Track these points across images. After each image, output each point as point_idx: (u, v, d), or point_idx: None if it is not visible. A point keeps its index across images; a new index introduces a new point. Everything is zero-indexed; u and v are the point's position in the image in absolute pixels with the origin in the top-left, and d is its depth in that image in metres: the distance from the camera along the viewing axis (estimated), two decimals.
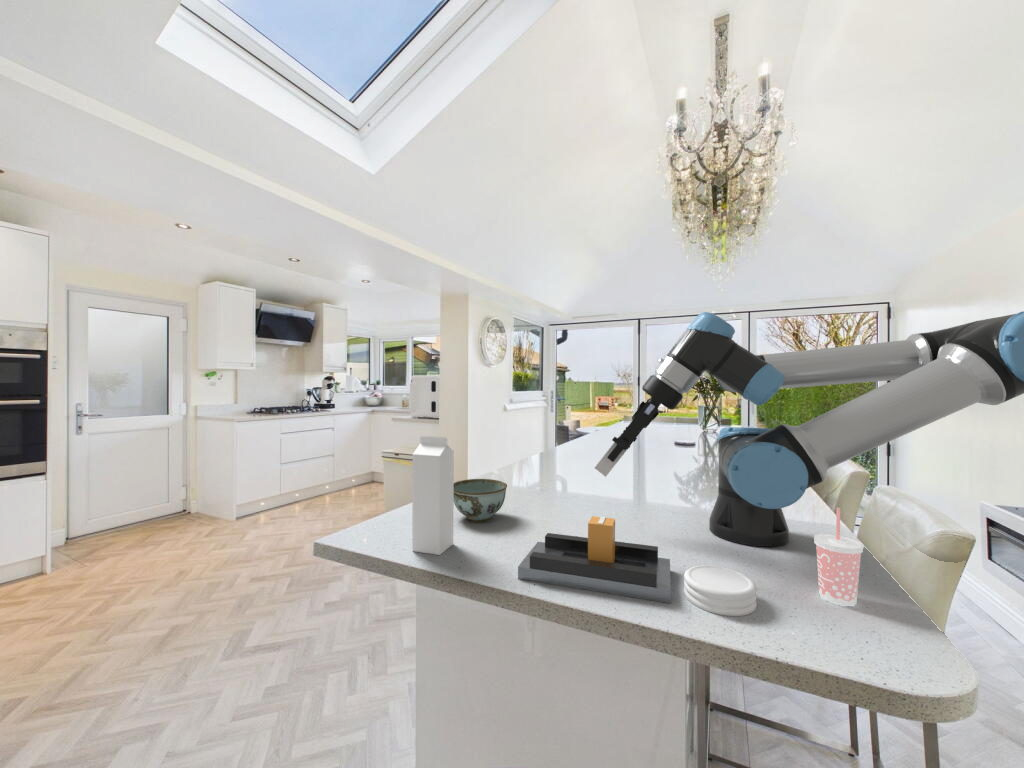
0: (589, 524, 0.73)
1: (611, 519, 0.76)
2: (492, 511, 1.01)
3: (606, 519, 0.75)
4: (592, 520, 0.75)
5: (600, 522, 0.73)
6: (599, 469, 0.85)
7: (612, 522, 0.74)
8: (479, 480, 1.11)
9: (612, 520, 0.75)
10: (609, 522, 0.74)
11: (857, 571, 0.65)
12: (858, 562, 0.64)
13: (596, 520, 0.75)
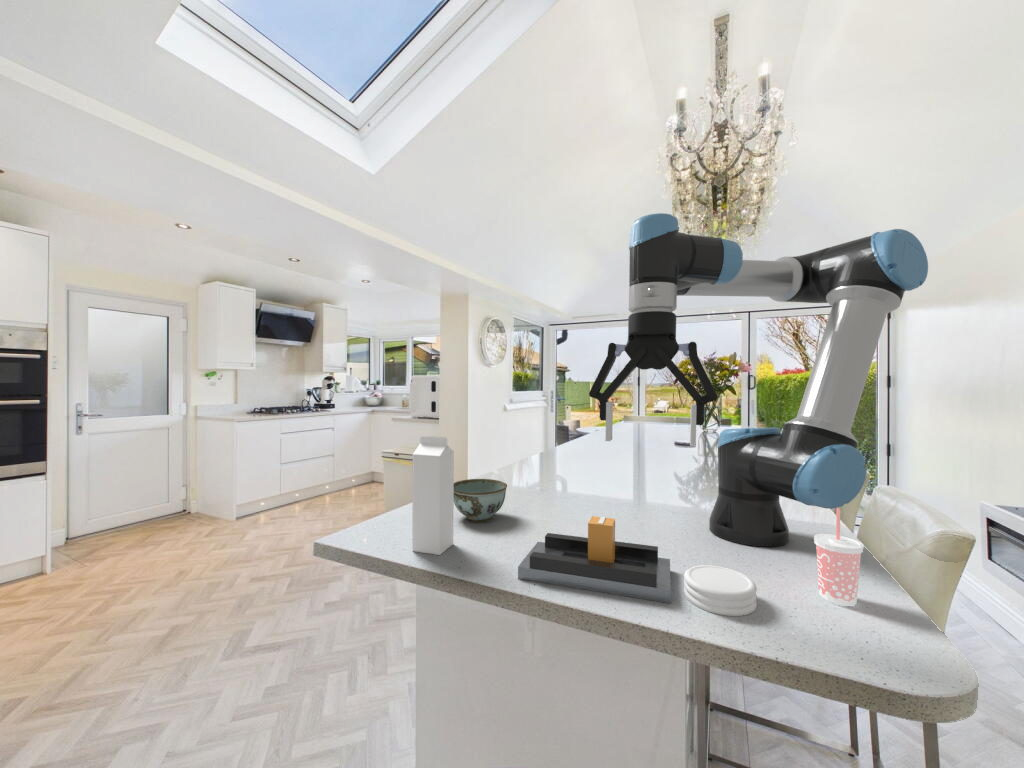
0: (589, 524, 0.73)
1: (611, 519, 0.76)
2: (492, 511, 1.01)
3: (606, 519, 0.75)
4: (592, 520, 0.75)
5: (600, 522, 0.73)
6: None
7: (612, 522, 0.74)
8: (479, 480, 1.11)
9: (612, 520, 0.75)
10: (609, 522, 0.74)
11: (857, 571, 0.65)
12: (858, 562, 0.64)
13: (596, 520, 0.75)
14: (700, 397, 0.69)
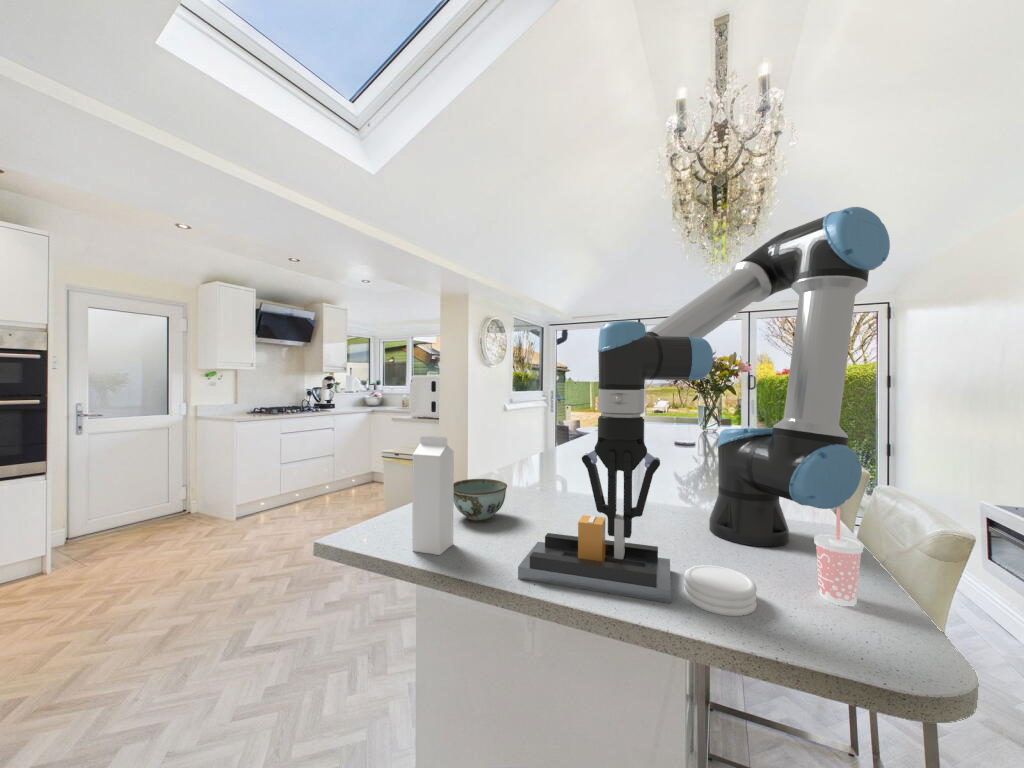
0: (579, 523, 0.74)
1: (601, 518, 0.76)
2: (492, 511, 1.01)
3: (596, 518, 0.76)
4: (582, 519, 0.75)
5: (590, 521, 0.74)
6: (623, 554, 0.73)
7: (602, 521, 0.74)
8: (479, 480, 1.11)
9: (602, 519, 0.75)
10: (599, 521, 0.74)
11: (857, 571, 0.65)
12: (858, 562, 0.64)
13: (586, 519, 0.75)
14: (629, 513, 0.72)
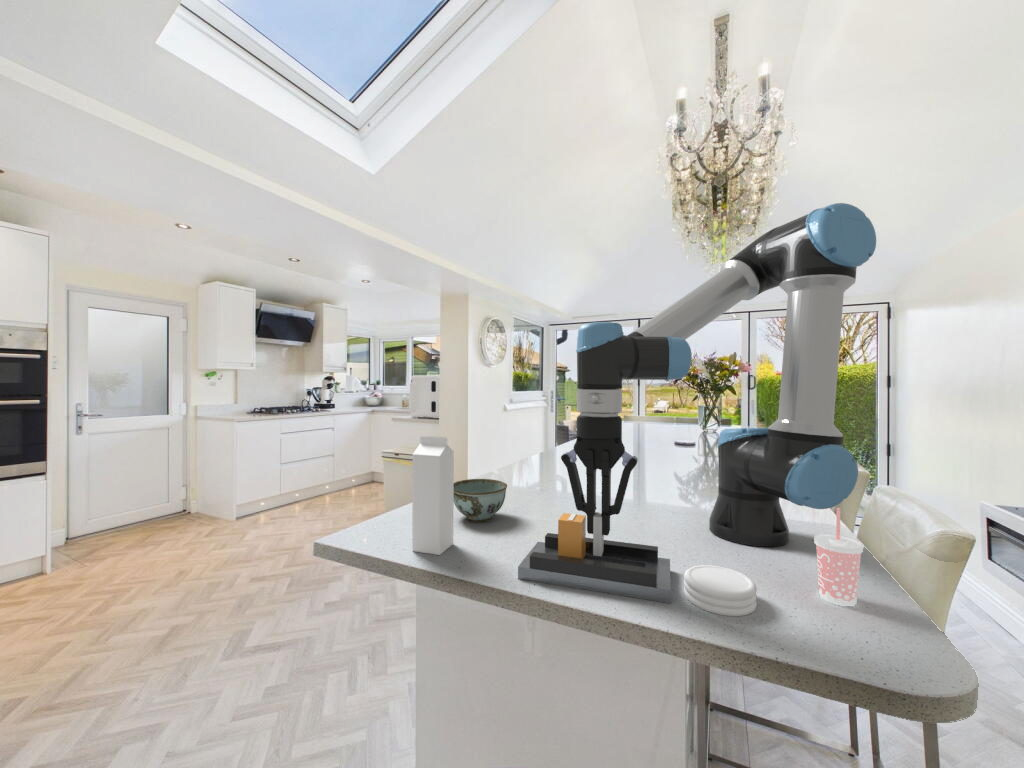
0: (559, 521, 0.75)
1: (581, 515, 0.77)
2: (492, 511, 1.01)
3: (577, 516, 0.77)
4: (562, 517, 0.77)
5: (570, 519, 0.75)
6: (602, 551, 0.74)
7: (582, 519, 0.76)
8: (479, 480, 1.11)
9: (582, 517, 0.77)
10: (579, 519, 0.75)
11: (857, 571, 0.65)
12: (858, 562, 0.64)
13: (567, 517, 0.77)
14: (607, 511, 0.73)
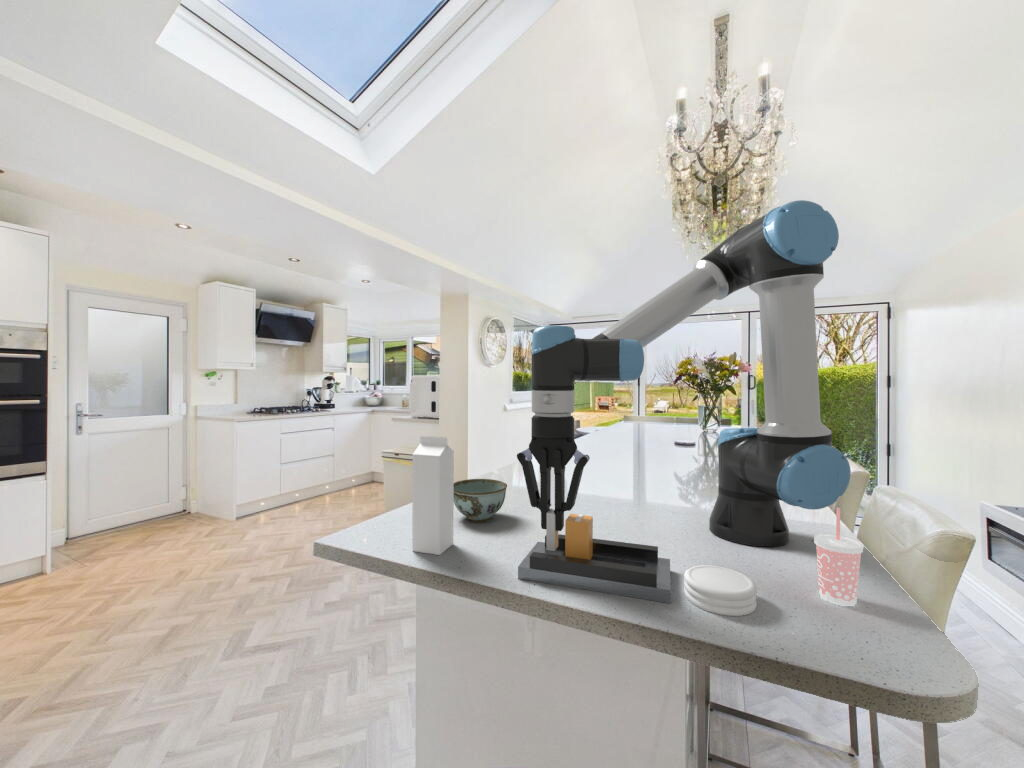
0: (566, 521, 0.75)
1: (588, 516, 0.77)
2: (492, 511, 1.01)
3: (584, 517, 0.77)
4: (569, 517, 0.76)
5: (577, 519, 0.75)
6: (555, 546, 0.77)
7: (589, 519, 0.75)
8: (479, 480, 1.11)
9: (589, 518, 0.76)
10: (586, 520, 0.75)
11: (857, 571, 0.65)
12: (858, 562, 0.64)
13: (574, 518, 0.76)
14: (560, 507, 0.76)
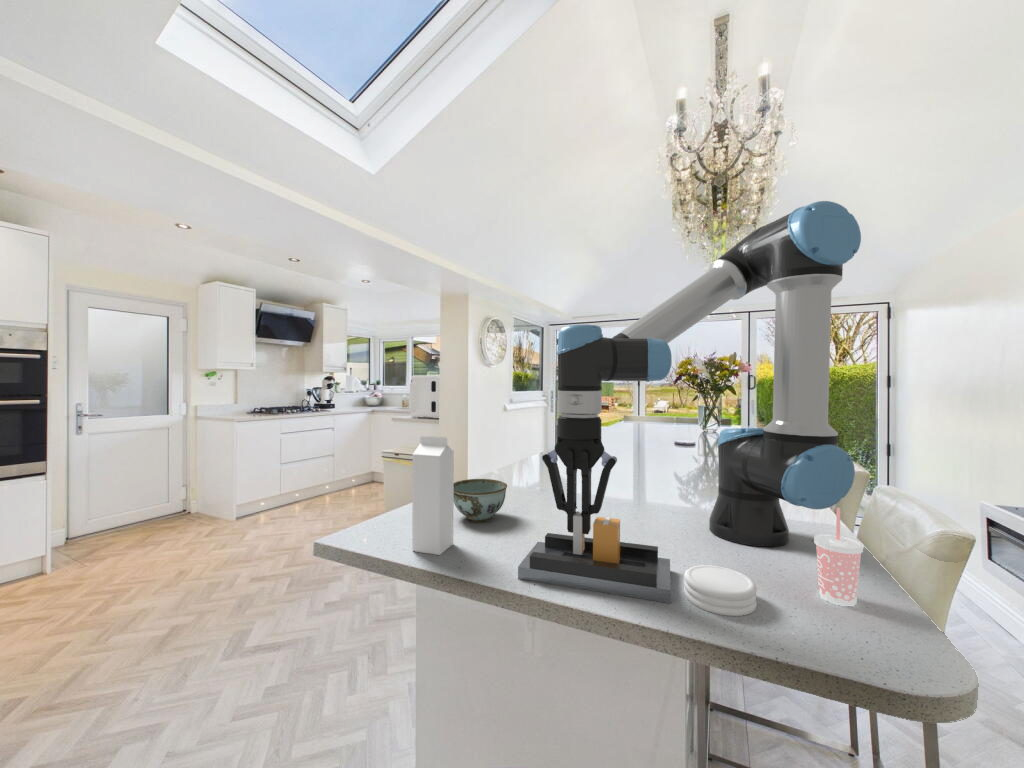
0: (594, 525, 0.73)
1: (616, 519, 0.75)
2: (492, 511, 1.01)
3: (611, 520, 0.75)
4: (597, 520, 0.75)
5: (605, 523, 0.73)
6: (582, 550, 0.75)
7: (617, 523, 0.74)
8: (479, 480, 1.11)
9: (617, 521, 0.75)
10: (614, 523, 0.73)
11: (857, 571, 0.65)
12: (858, 562, 0.64)
13: (601, 521, 0.75)
14: (587, 510, 0.74)
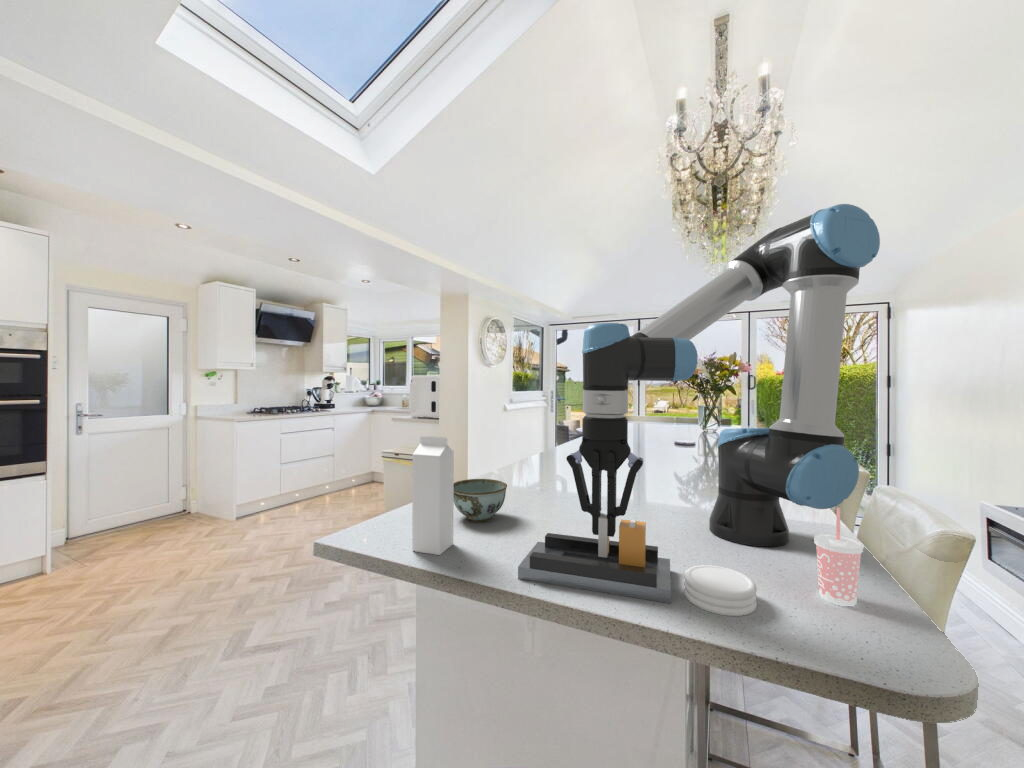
0: (620, 528, 0.72)
1: (641, 522, 0.74)
2: (492, 511, 1.01)
3: (637, 522, 0.74)
4: (622, 523, 0.73)
5: (631, 525, 0.72)
6: (607, 553, 0.74)
7: (643, 525, 0.72)
8: (479, 480, 1.11)
9: (643, 523, 0.73)
10: (641, 526, 0.72)
11: (857, 571, 0.65)
12: (858, 562, 0.64)
13: (627, 523, 0.73)
14: (612, 512, 0.73)
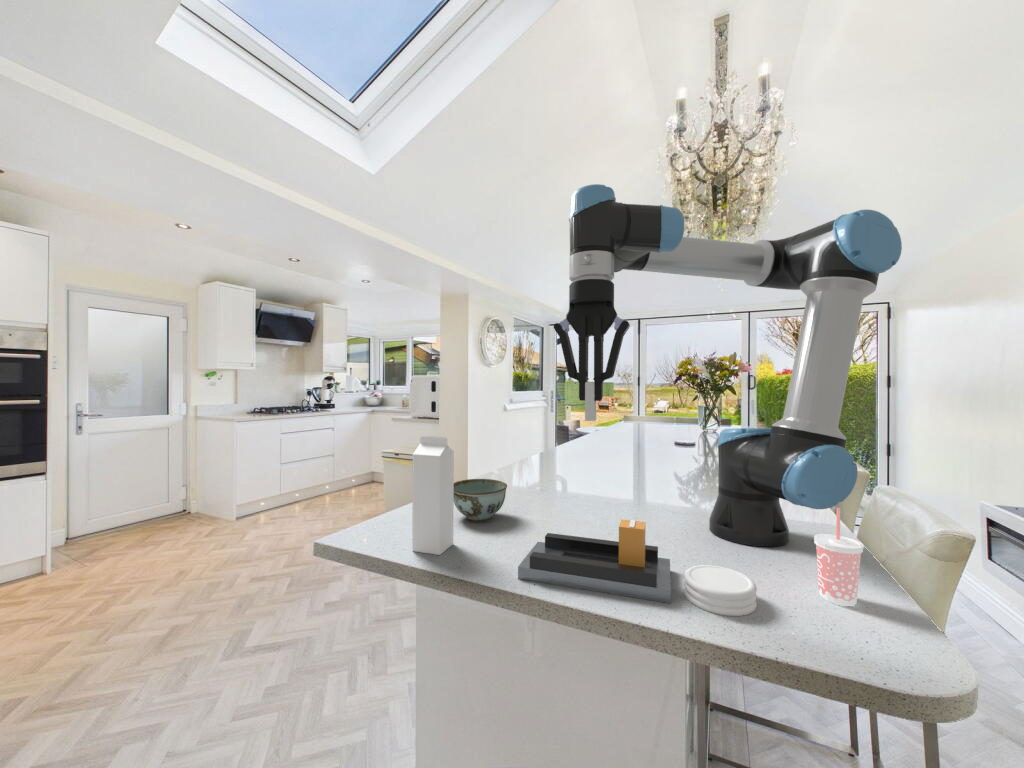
0: (620, 528, 0.72)
1: (641, 522, 0.74)
2: (492, 511, 1.01)
3: (636, 522, 0.74)
4: (622, 523, 0.73)
5: (631, 525, 0.72)
6: (594, 418, 0.74)
7: (643, 525, 0.72)
8: (479, 480, 1.11)
9: (643, 523, 0.73)
10: (641, 526, 0.72)
11: (857, 571, 0.65)
12: (858, 562, 0.64)
13: (626, 523, 0.73)
14: (599, 375, 0.73)
